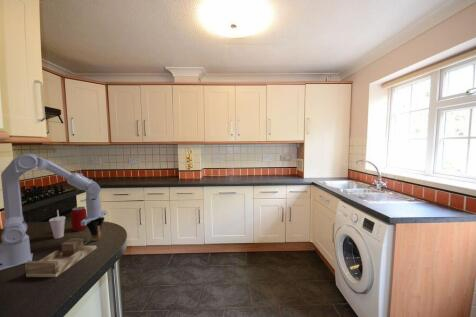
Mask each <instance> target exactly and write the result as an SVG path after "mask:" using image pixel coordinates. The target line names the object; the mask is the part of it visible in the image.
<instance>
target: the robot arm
mask: <svg viewBox="0 0 476 317" xmlns="http://www.w3.org/2000/svg"><path fill="white" fill-rule="evenodd" d="M35 168H37V170H41V171H43V170H44V171H45V170H46V171H49V172H51V173H53V174H54V175H58V176H59V177H61V178H64V179H66V183H67V184H68V185H70V186H72V187H75V189H78V190H81V191H84V192H85V205H86V207H85V209H86V214H87V217H86V218H85V219H84V220H83V221H81V226H85V225H86V226H87V227H86V228H88V230H89V232H90V236H91V235H97V226H98V225H100V231H102V230H101V229H102V225H103V224H104V221H105V217H104V216H107V214H108V212H107V210H102V205H101V204H102V203H101V193H100V192H101V190H102V189H101V186H100V184H98V183H97V182H96V181H94V180H93V179H91V178H88V177H86V176H84V174H83V173H82V172H80V173H79V172H71V171H68V170H66V169H65V168H64V167H61V166H60V165H58V164H56V163H54V162H53V161H51V160H49V159H46V158H44V157H41V156H38V155H37V154H34V153H30V152H29V153H24V154H20V155H18V156H16V157H15V158H13V159H12V160H11V161H10V163H9V164H8V165H7V166H6V167H5V168H4V170H3V171H2V172H1V174H0V178H1V179H0V180H1V188H2V190H1V191H2V199H3V200H2V201H3V210H4V212H3V213H4V224H3V232H2V233H1V236H0V238H1V241H2V242H1V243H0V271H3V270H6V269H9V268H14V267H16V266H20V265H25V263H26V262H28V261H33V255H34V253H33V252H31V244H30V236H29V235H28V234H27V233H26V232H27V231H28V228H29V227H28V224H27V223H26V222H25V218H24V215H23V207H22V206H23V205H22V195H21V194H22V192H21V182H20V177H21V176H22V175H24V174H25V173H26V172H28V171H31V170H33V169H35Z"/></svg>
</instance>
